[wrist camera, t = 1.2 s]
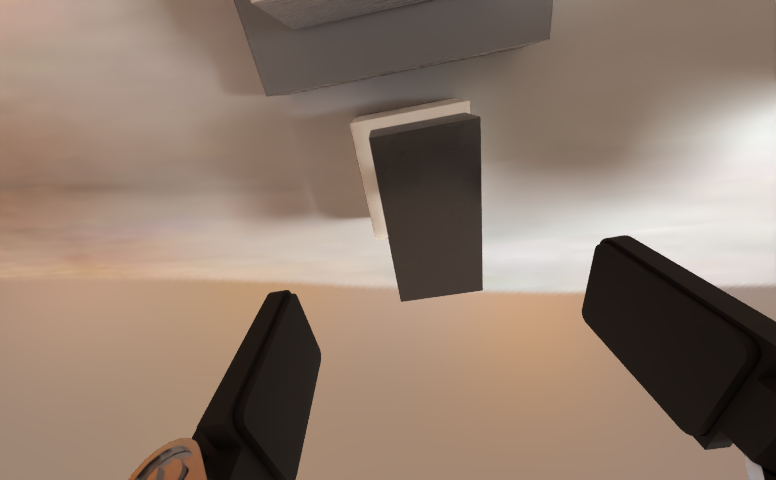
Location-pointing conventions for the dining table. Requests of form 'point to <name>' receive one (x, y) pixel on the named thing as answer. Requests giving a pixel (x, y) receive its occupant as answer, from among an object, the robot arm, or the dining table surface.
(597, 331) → the robot arm
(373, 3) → the chuck
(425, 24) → the grey flat slab
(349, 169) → the dining table surface
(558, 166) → the dining table surface
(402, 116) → the key stand
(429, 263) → the block
